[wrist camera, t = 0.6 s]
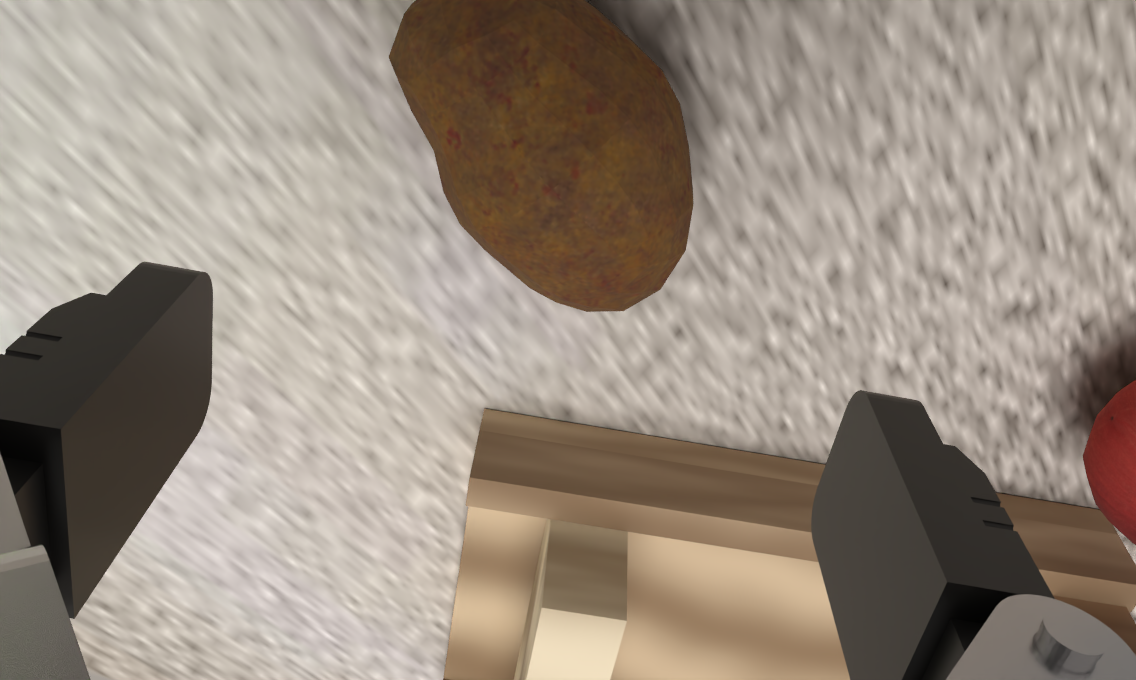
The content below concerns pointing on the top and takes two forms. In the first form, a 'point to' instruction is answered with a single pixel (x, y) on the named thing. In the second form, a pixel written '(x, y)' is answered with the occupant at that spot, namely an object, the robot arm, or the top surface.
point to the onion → (1115, 461)
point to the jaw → (575, 604)
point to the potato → (552, 143)
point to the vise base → (704, 553)
